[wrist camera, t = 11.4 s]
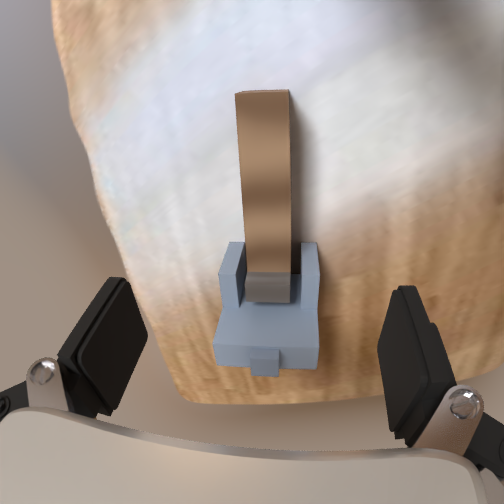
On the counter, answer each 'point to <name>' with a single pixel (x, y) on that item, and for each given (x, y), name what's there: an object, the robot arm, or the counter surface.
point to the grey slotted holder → (268, 319)
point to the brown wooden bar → (265, 192)
